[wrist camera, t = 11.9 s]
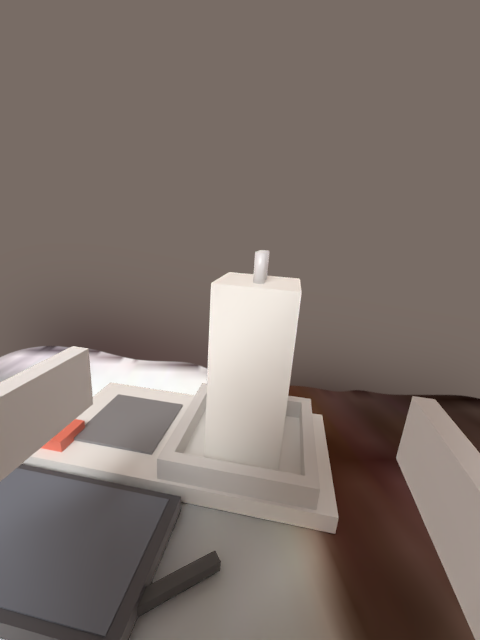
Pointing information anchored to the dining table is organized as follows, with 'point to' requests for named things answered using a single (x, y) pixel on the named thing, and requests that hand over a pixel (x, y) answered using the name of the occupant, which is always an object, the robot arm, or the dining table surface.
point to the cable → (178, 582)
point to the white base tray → (195, 456)
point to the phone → (77, 554)
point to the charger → (250, 364)
